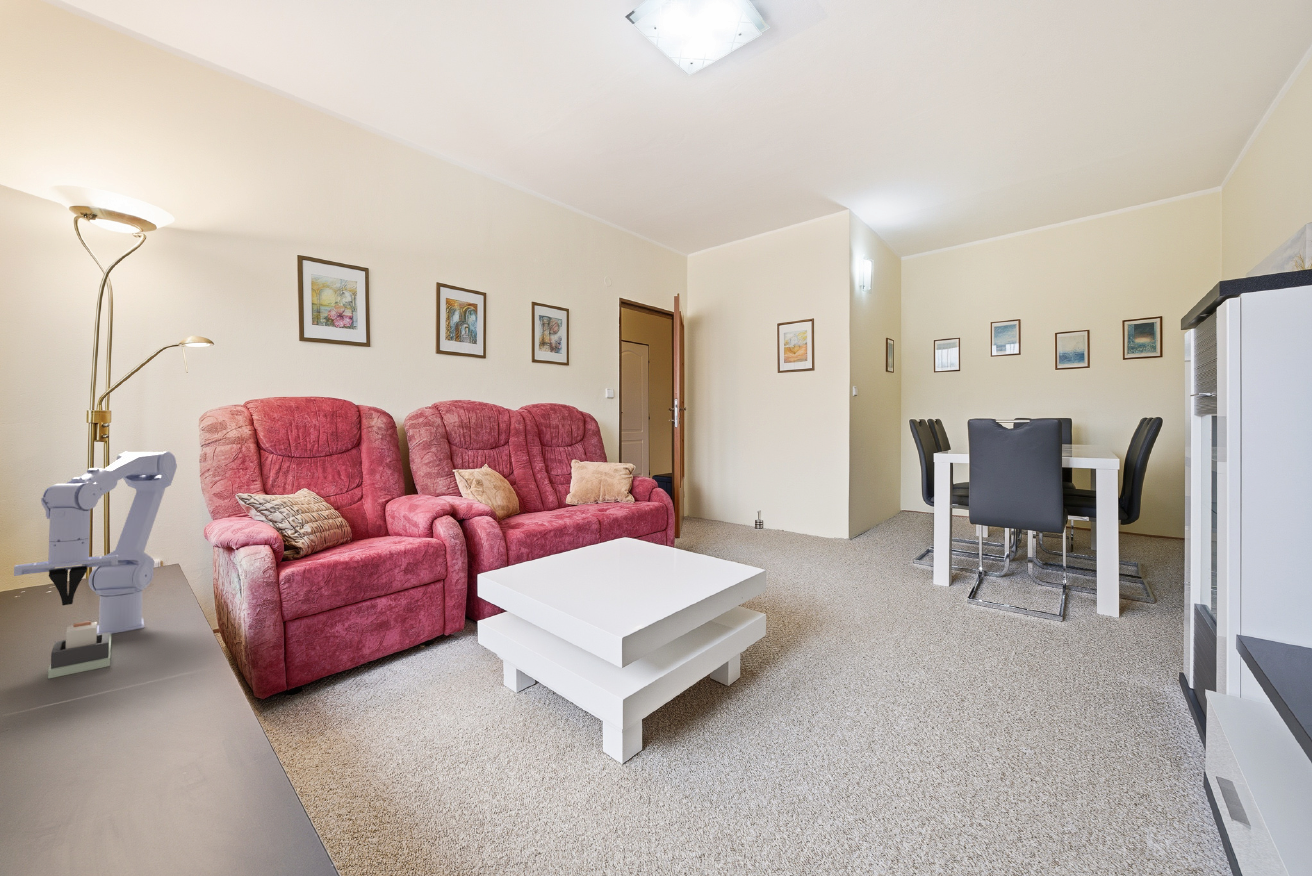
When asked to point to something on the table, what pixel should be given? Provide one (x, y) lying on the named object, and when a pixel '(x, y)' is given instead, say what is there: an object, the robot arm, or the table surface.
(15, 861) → the table surface
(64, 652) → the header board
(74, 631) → the plug
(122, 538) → the robot arm
